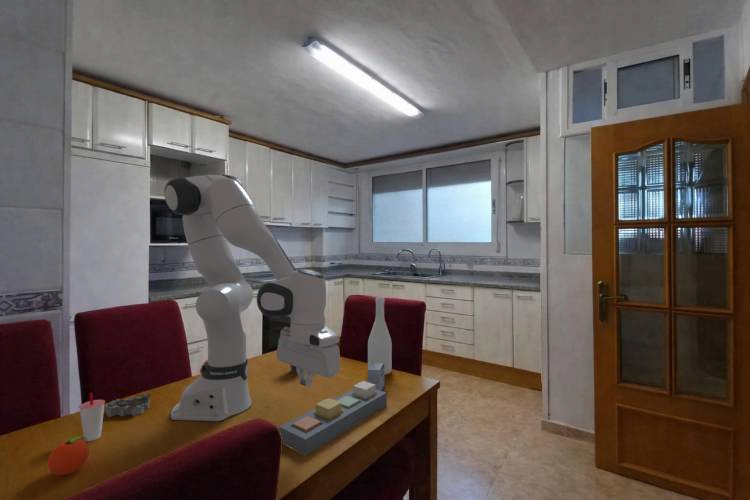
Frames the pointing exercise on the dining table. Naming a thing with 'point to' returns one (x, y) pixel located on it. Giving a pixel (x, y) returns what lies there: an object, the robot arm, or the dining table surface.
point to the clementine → (68, 456)
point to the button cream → (364, 390)
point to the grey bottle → (380, 340)
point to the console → (330, 423)
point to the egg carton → (128, 406)
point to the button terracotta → (306, 424)
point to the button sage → (348, 402)
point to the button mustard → (328, 409)
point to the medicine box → (376, 375)
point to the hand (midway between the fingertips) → (305, 385)
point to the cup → (92, 418)
